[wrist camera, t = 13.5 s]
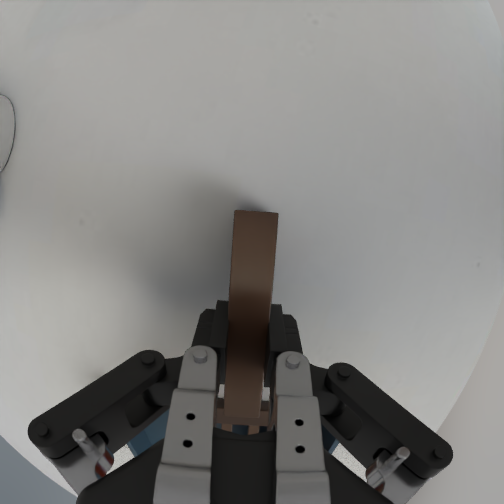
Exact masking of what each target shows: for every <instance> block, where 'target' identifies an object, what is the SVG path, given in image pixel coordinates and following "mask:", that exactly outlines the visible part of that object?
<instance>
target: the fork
mask: <svg viewBox="0 0 504 504" xmlns="http://www.w3.org/2000/svg"><path fill="white" fill-rule="evenodd" d="M277 227H278V213H272V212H259V211H246V210H235V212H234V226H233V240H232V255H231V270H230V287H229V304H228V320H229V332H228V351H227V369H226V378H225V389H224V399H222V398H218V399H217V423H219V424H221V429H223V430H226V431H230V432H232V425H247V426H248V431H247V435H250V434H256V433H259V426H267V424H268V404H269V401H261V399H262V390H263V381H264V361H265V352H266V342H267V332H268V323H269V322H270V312H271V301H272V289H273V278H274V266H275V253H276V240H277Z"/></svg>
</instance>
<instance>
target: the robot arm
mask: <svg viewBox="0 0 504 504" xmlns="http://www.w3.org/2000/svg"><path fill="white" fill-rule="evenodd" d="M228 304H229V301H223V300H217V304H216V309H215V310H214V309H206V310H205V311H204V312H203V313H201V314H200V318H199V322H198V325H197V328H196V332H195V335H194V339H193V342H192V346H191V347H190V348H189V349H187V350H186V351H185V353H184V355H183V356H181V357H177V358H169V359H165V358H164V356H163V355H162V354H161V353H159V352H158V351H154V350H144V351H141V352H139V353H137V354H136V355H134V356H133V357H131V358H130V359H128V360H126V361H125V362H123V363H122V364H120V365H119V366H117V367H116V368H114V369H113V370H111V371H110V372H108V373H106V374H105V375H103V376H102V377H100V378H99V379H97V380H96V381H94V382H92V383H91V384H89V385H88V386H86V387H85V388H83V389H81V390H80V391H78V392H77V393H75V394H74V395H72V396H70V397H69V398H67V399H66V400H64V401H62V402H61V403H59V404H58V405H56V406H54V407H53V408H51V409H50V410H48V411H46V412H45V413H43V414H41V415H40V416H38V417H36V418H35V419H34V420H32V421H31V423H30V424H29V427H28V436H29V439H30V440H31V441H32V443H33V444H34V445H35V446H36V447H37V448H38V449H39V450H40V452H41V453H42V454H43V455H44V456H45V457H46V458H47V459H48V460H49V461H50V462H51V463H52V464H53V465H54V466H55V467H56V468H57V470H58V471H59V472H60V474H61V475H62V476H63V477H64V479H65V480H66V481H67V482H68V484H69V485H70V486H71V487H72V489H73V490H74V491H75V492H76V493H77V494H78V498H77V501H76V504H406V503H407V502H408V501H409V500H410V499H411V498H412V497H413V496H414V495H415V493H416V492H417V491H418V490H419V489H420V488H421V487H422V486H423V485H424V484H425V483H426V482H427V481H429V480H430V479H431V478H433V477H434V476H435V475H437V474H438V473H439V472H440V471H442V470H443V469H444V468H445V467H447V466H448V465H449V464H450V462H451V461H452V458H453V450H452V448H451V446H450V445H449V444H448V443H447V442H446V441H445V440H443V439H442V438H441V437H440V436H438V435H437V434H436V433H435V432H433V431H432V430H431V429H430V428H428V427H427V426H426V425H425V424H423V423H422V422H421V421H419V420H418V419H417V418H416V417H414V416H413V415H412V414H411V413H410V412H408V411H407V410H406V409H405V408H403V407H402V406H401V405H400V404H398V403H397V402H396V401H395V400H393V399H392V398H391V397H390V396H389V395H387V394H386V393H385V392H384V391H382V390H381V389H380V388H379V387H378V386H376V385H375V384H374V383H373V382H372V381H370V380H369V379H368V378H367V377H366V376H364V375H363V374H362V373H361V372H360V371H358V370H357V369H356V368H355V367H353V366H352V365H350V364H347V363H335V364H333V365H331V366H330V367H329V369H325V368H320V367H317V366H314V365H312V364H310V363H309V360H308V359H307V357H306V356H304V355H303V351H302V346H301V341H300V336H299V331H298V327H297V322H296V320H295V319H294V318H293V316H292V315H287V314H283V312H282V306H281V304H271V312H270V322H269V323H268V332H267V342H266V352H265V361H264V387H270V396H269V404H268V424H267V432H261V433H256V434H250V435H240V434H237V433H233V432H230V431H226V430H223V429H219V428H216V427H217V399H218V392H219V386H220V384H224V385H225V378H226V369H227V351H228V332H229V320H228ZM169 408H170V410H169V416H168V421H167V427H166V433H165V438H163V439H161V440H159V441H158V442H157V443H155V444H154V445H152V446H151V447H149V448H148V449H146V450H145V451H143V452H142V453H140V454H139V455H137V456H136V457H134V458H133V459H131V460H130V461H128V462H127V463H125V464H123V465H122V466H120V467H119V468H117V469H115V470H114V471H112V472H110V473H109V474H107V475H106V473H107V471H109V470H110V468H111V467H112V465H113V463H114V456H113V454H114V453H115V452H116V451H118V450H119V449H120V448H121V447H123V446H124V445H125V444H127V443H128V442H129V441H130V440H132V439H133V438H134V437H135V436H137V435H138V434H139V433H140V432H142V431H143V430H144V429H145V428H147V427H148V426H149V425H150V424H151V423H153V422H154V421H155V420H156V419H157V418H159V417H160V416H161V415H162V414H163V413H165V412H166V411H167V410H168V409H169ZM321 424H322V425H323V426H324V427H325V428H326V429H327V430H328V431H329V432H330V433H331V434H332V435H333V436H334V437H335V438H336V439H337V440H338V441H339V442H340V443H341V444H342V445H343V446H344V447H345V448H346V449H347V450H348V451H349V452H350V453H351V454H352V455H353V456H354V457H355V458H356V459H357V460H358V461H359V462H360V463H361V464H362V465H363V466H364V467H365V468H366V479H367V483H366V482H365V481H364V480H362V479H361V478H360V477H358V476H357V475H356V474H355V473H353V472H352V471H351V470H350V469H348V468H347V467H346V466H345V465H343V464H342V463H341V462H340V461H339V460H337V459H336V458H335V457H334V456H333V455H331V454H330V453H329V452H328V451H327V450H326V449H324V448H323V440H322V430H321Z"/></svg>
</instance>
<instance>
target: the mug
mask: <svg viewBox="0 0 504 504" xmlns="http://www.w3.org/2000/svg"><path fill="white" fill-rule="evenodd" d="M14 129H15V118H14V111H13V107H12V104H11V102H10V101H9V99H8V98H7V97H5V96H3V95H0V172H1V171H2V169H3V168H4V166H5V164H6V162H7V160H8V158H9V155H10V152H11V148H12V144H13V139H14Z"/></svg>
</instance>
